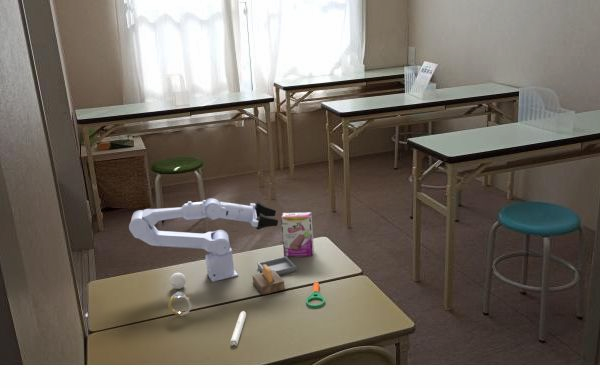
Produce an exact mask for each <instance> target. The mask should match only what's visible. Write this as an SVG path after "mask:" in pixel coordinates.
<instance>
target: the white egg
mask: <svg viewBox="0 0 600 388" xmlns="http://www.w3.org/2000/svg"><path fill="white" fill-rule="evenodd" d="M186 283H187V278H186V275H184V273H181V272H174V273H173V274H172V275H171V276H170V277H169V284H170V287H172V288H173V289H176V290H178V289H179V290H180V289H183V287H185V285H186Z"/></svg>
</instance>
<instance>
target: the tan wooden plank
mask: <svg viewBox="0 0 600 388" xmlns="http://www.w3.org/2000/svg"><path fill="white" fill-rule="evenodd" d="M262 266H263V275H264V278H265V280H266V281H267V282H268V283H272V282H273V280H272V270H271V269H270V268H269V267H268V266H267V265H266V264H264V265H262Z"/></svg>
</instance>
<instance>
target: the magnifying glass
mask: <svg viewBox="0 0 600 388" xmlns="http://www.w3.org/2000/svg"><path fill="white" fill-rule="evenodd" d="M325 299H326V298H324V296H323V295H321V294H320V283H319V282H318V281H317V282H314V283H313V290H312V293H311V294H310V295H309V296H308V297H307V298H306V300H305V306H306V307H308V308H310V309H318V308H321V307H323V306H324V305H326V301H325ZM312 300H320V301H321V303H319V304H311V303H309V302H310V301H312Z"/></svg>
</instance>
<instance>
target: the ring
mask: <svg viewBox="0 0 600 388" xmlns="http://www.w3.org/2000/svg"><path fill="white" fill-rule="evenodd" d="M177 299H184V300H185V301H187V303H188V309H187V310H186V311H184V312H183V311H176V310H175V309H174V308H173V307H172V303H173V302H174V301H176V300H177ZM167 305H168V309H169V310H170V312H171V313H173V314H174V315H177V316H180V317H183V316H185V315H188V314H189V312H190V311H191V308H192V300H191V297H189V296H188V295H186V294H185V293H184V292H183V291H177V292H175V293H173V295H172V296H170V298H169V301H168V303H167Z"/></svg>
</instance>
